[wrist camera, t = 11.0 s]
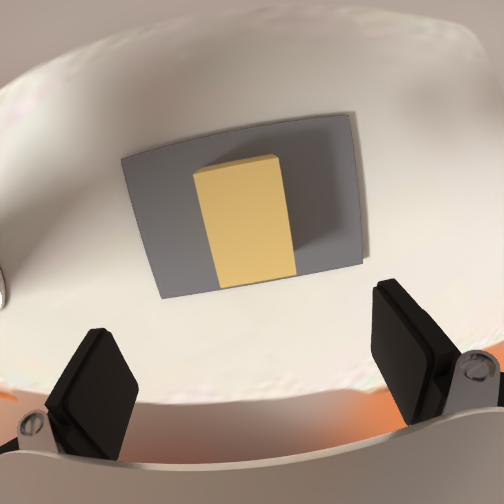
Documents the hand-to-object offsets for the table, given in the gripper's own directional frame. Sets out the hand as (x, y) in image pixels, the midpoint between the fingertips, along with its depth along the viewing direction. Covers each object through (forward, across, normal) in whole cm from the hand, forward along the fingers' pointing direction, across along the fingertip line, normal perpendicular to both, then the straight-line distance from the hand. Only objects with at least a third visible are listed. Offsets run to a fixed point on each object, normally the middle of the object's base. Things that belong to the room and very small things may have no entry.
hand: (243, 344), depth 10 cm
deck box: (+18, 0, 0) cm, 18 cm away
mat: (+18, 0, 0) cm, 18 cm away
